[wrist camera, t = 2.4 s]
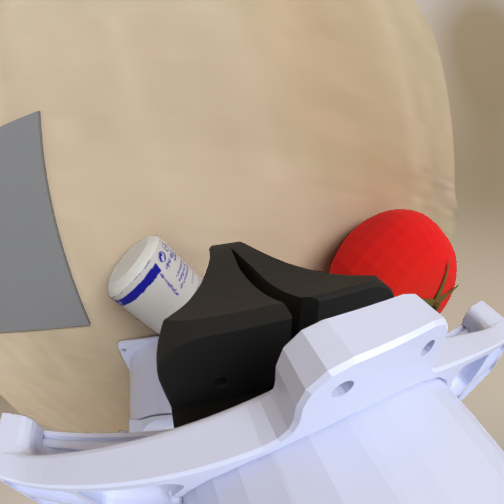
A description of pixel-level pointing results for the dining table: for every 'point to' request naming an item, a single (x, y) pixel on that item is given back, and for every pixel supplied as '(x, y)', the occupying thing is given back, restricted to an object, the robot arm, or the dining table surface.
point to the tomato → (401, 255)
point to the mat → (31, 239)
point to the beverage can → (152, 282)
